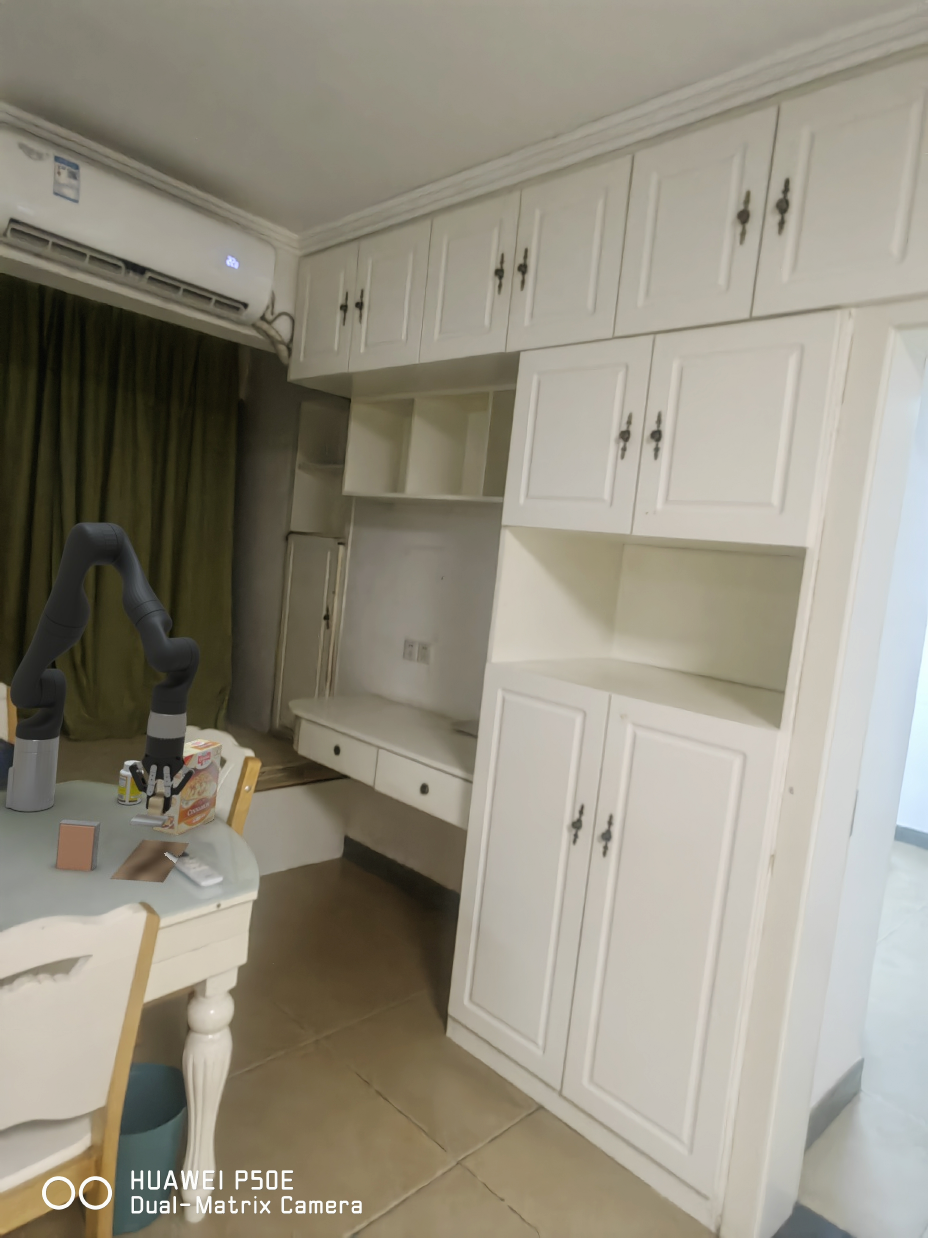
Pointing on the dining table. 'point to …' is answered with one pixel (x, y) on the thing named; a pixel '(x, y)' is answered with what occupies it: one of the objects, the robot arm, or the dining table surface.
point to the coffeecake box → (194, 788)
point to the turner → (152, 812)
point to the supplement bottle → (128, 786)
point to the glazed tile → (77, 845)
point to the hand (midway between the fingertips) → (158, 811)
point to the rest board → (150, 861)
